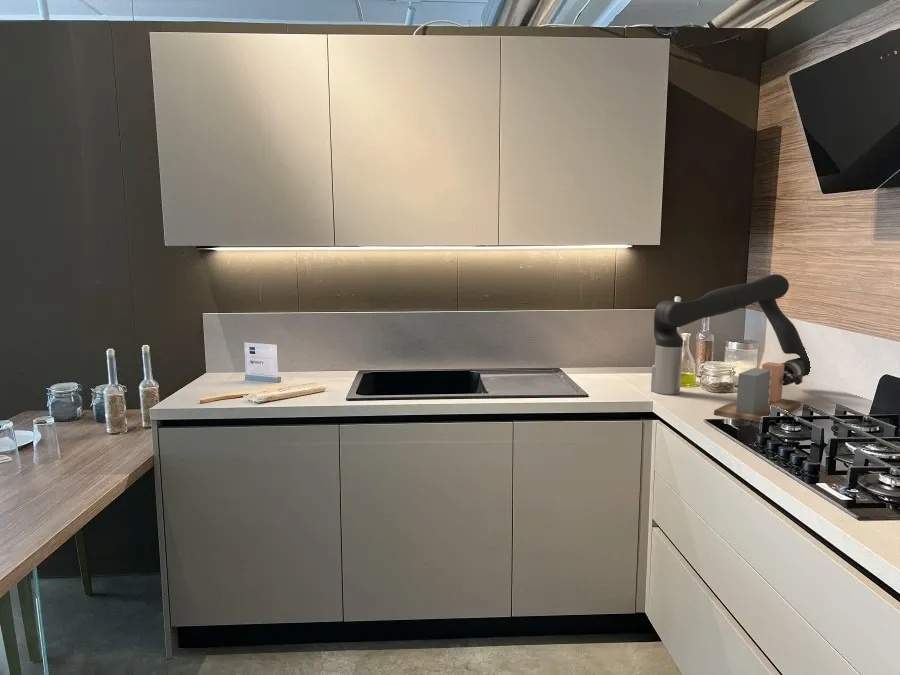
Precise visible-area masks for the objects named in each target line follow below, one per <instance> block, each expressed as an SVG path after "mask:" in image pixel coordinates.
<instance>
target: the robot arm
mask: <svg viewBox="0 0 900 675" xmlns="http://www.w3.org/2000/svg"><path fill="white" fill-rule="evenodd" d="M789 283H790V282H789V281H788V279H787V278H786V277H785V276H783V275H781V274H777V273H773V274H769V275H765V276H762V277H759V278H757V279H756V280H754V281H752V282H747V283H746V282H745V283H739V284H734V285H729V286H724V287H719V288H717V289H713V290H711V291H708V292H707V293H705V294H704V295H703V296H702V297H700V298H699V297H698V299H693V300H687V301H675V300H674V301H672V300H663V301H659V302H658V303H657V305H656V307H655V308H654V309H655V310H654V312H653V313H654V315H653V336H654V338H655V349H654V350H655V353H654V356H655V357H654V364H653V365H652V367H651V383H650V392H654V393H657V394H661V395H678V394H680V393H681V382H682V381H681V380H682V362H683V349H684V347H683V344H684V339H683V338H682V337H681V335H680V334H679V332H678V328H681V327H684V326H687V325H690V324H691V323H695V322H697V321H699V320H702V319H706V318H711V317H716V316H719V315H723V314H728V313H731V312H734V311H737V310H739V309H742V308H744V307H747V306H750V305H753V304H755V303H758V304H759V307H760V308H761V310H762V312H763V313H764V315H765V317H766V318H767V320H768V321H769V323H770V325H771V326H772V329H773V331H774V333H775V337H776V338H777V341H778V343H779V345H780V348H781V350H782V353H783V354H786V355H791V354H792V355H796V356H798V357H796V358H792V359H788V360H786V361H783V362H782V363H780V364H784V375H783V387H784V386H788V385H793V384H794V385H796V386H797V385H798V386H799V385H800V384H802V383H803V382H804V381H803V379H804V377H806V375H807V376H809V375H808V374H809V372H810V368H811V367H810V361H809V358H808V356H807V353H806V351H805V349H806V347H805V345H804V344H803V342H802V339H801V337H800V334H799V332H798V330H797V328H796V326H795V325H794V323H793V322H792V321H791V320H790V319H789V318H788V317H787V316H786V315H785V314H784V312H782V310H781V308H780V307H779V305H778V302H777V299H780V298H781V299H782V297H785V295H786V294H787V293H788V291H789V288H790V284H789ZM803 345H804V346H803ZM804 347H805V348H804Z"/></svg>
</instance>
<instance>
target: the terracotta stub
mask: <svg viewBox="0 0 900 675" xmlns="http://www.w3.org/2000/svg"><path fill="white" fill-rule="evenodd" d="M761 369H767V370H772V374H771V379H770V380H771V385H770V395H769V401H772V402H777V401H779V400H781V399H783V398H782V396H783V387H784V386H783V375H784V364H781V363H779V362H778V363H777V362H772V361H771V362H770V361H767V362H765V363H763V364H762V366H761Z"/></svg>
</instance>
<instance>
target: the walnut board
mask: <svg viewBox="0 0 900 675" xmlns="http://www.w3.org/2000/svg"><path fill="white" fill-rule="evenodd" d="M801 404H802V402H801V401H799V400H798V401H797V400H791V399H786V398H781V400H779V401H777V402H772V401H769V404H768V407H767V408H765V409H763V410H761V411H759V412H757V413H755V414H753V415H752V414H746V413H741V412H736V405H737V399H735V400H733V401H731V402H729V403H726V404H724V405H722V406H720V407H718V408H716V409H714V410H713V415H714V416H719V417H724V418H730V419H734V418H738V419H737V420H739V419H749V420H754V421H757V422H760V420H761V417H762V416H769V415H770V406H771V405H774V406H776V407H779V408H781V409H783V410H786V411H788V412H790V413H792V412H793V411H794V410H797V409H799V408H800V407H801V406H802V405H801Z"/></svg>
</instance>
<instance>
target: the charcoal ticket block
mask: <svg viewBox="0 0 900 675" xmlns="http://www.w3.org/2000/svg"><path fill="white" fill-rule="evenodd" d="M771 374H772V370H767V369H762V368H760V367H759V368H757V367H753V368H750V369H748V370H745V371H743V372H739V373H738V382H737V392H736V400H737V405H736V412H741V413H746V414H752V415H753V414H755V413H757V412H759V411H761V410H763V409H765V408H767V407H768V404H769V395H770V385H771V380H770V379H771Z"/></svg>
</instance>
